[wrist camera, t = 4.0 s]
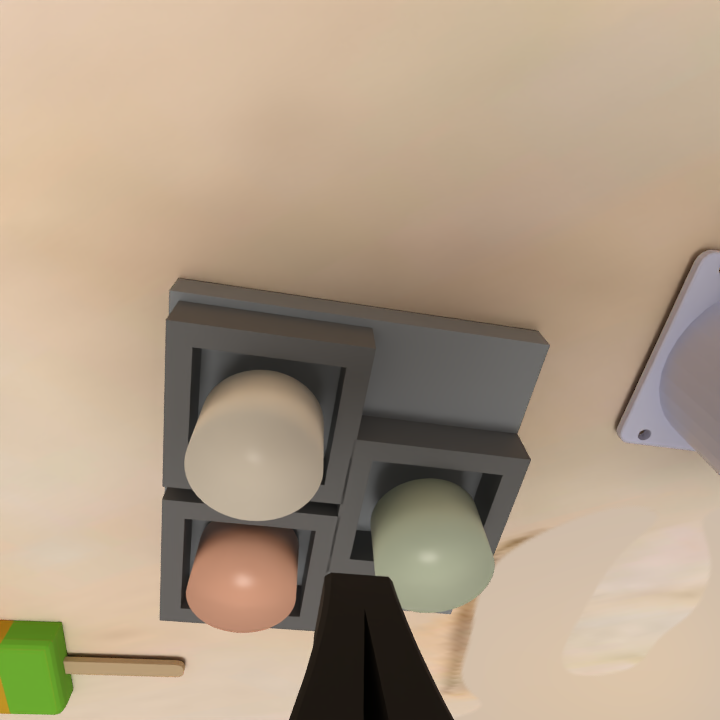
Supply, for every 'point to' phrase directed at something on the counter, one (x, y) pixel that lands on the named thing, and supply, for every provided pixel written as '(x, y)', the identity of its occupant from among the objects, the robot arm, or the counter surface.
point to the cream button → (257, 446)
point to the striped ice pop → (55, 667)
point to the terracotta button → (244, 576)
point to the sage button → (431, 545)
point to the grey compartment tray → (346, 418)
